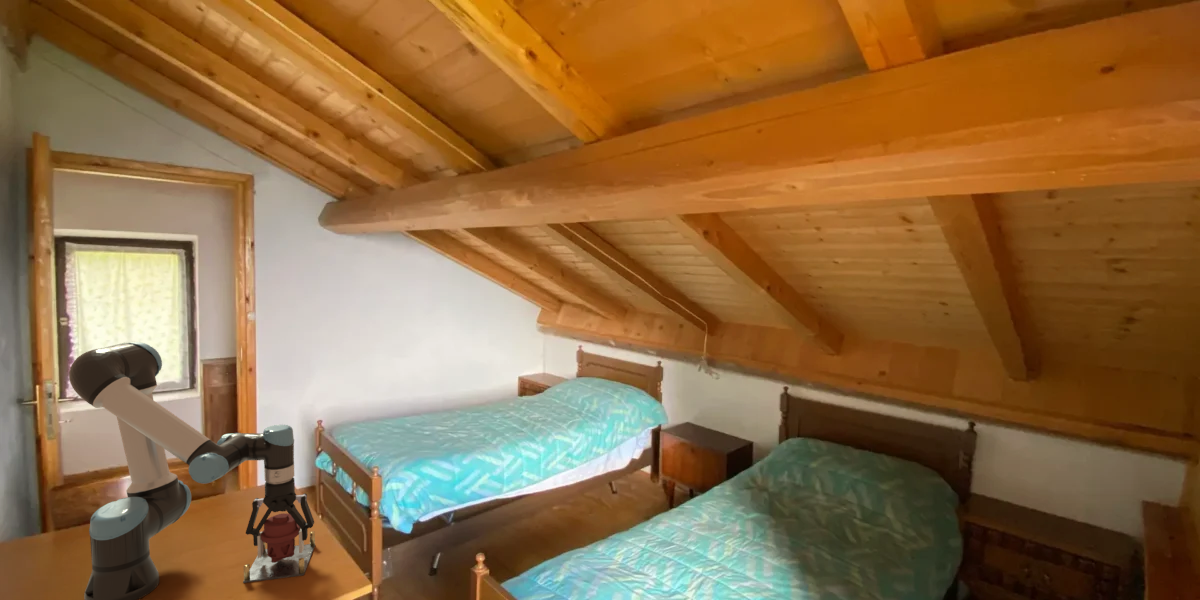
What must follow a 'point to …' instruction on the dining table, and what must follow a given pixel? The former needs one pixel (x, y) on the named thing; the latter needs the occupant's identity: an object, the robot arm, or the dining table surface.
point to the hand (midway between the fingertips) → (281, 552)
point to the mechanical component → (280, 536)
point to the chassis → (280, 564)
